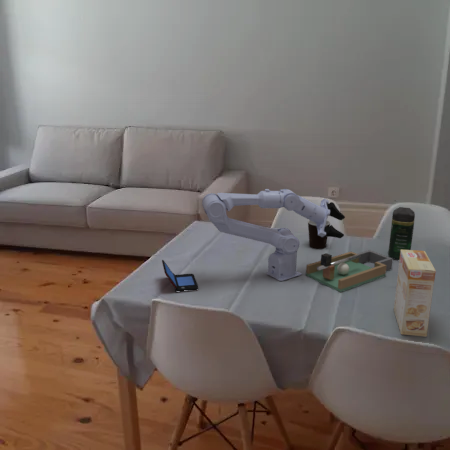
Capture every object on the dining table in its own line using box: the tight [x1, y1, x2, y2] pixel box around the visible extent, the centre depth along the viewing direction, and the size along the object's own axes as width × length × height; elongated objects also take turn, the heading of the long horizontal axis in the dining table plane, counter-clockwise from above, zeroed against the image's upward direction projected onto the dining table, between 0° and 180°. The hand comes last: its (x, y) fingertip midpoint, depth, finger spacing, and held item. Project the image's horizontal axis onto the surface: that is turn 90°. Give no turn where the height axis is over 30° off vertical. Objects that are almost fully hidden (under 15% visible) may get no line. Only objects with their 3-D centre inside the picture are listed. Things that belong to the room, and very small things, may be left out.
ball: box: [337, 263, 349, 275], centre depth 176 cm, size 4×4×4 cm
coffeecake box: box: [393, 249, 437, 338], centre depth 144 cm, size 15×7×20 cm, turn 170°
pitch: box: [305, 249, 394, 293], centre depth 179 cm, size 29×16×4 cm, turn 125°
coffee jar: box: [387, 206, 416, 261], centre depth 192 cm, size 10×8×19 cm
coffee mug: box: [307, 219, 331, 250], centre depth 205 cm, size 12×9×10 cm
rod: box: [317, 252, 361, 280], centre depth 174 cm, size 20×3×8 cm, turn 125°
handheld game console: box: [161, 259, 199, 292], centre depth 171 cm, size 12×11×7 cm
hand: (342, 227), depth 178 cm, fingers open, 7 cm apart
